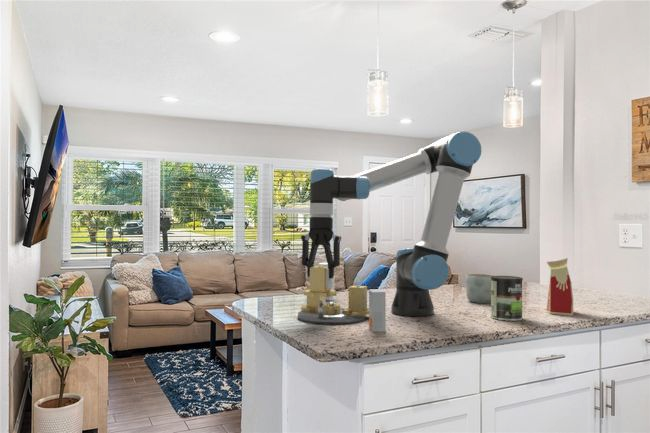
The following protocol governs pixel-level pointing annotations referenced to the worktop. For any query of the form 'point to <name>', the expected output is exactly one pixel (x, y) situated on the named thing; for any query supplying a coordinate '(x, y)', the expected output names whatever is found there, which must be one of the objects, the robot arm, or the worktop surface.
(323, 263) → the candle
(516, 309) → the coffee can
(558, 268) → the red tall pouch
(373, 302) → the skincare box
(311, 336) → the worktop surface
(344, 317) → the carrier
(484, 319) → the worktop surface
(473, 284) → the planter
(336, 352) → the worktop surface
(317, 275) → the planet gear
